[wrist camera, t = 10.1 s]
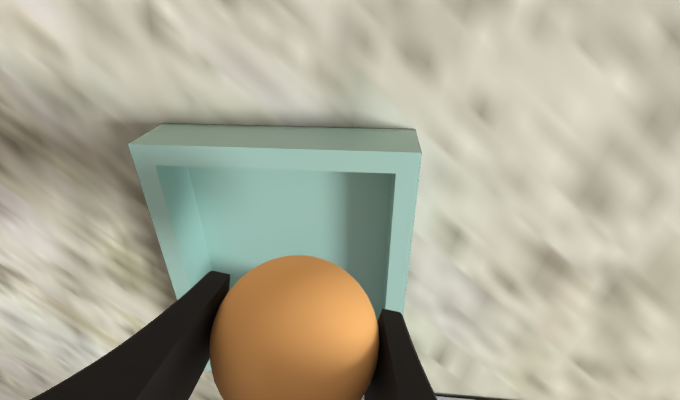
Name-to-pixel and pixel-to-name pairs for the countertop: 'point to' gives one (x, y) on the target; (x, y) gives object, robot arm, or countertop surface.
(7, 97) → the countertop surface
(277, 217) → the tray
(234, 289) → the ball
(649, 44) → the countertop surface
